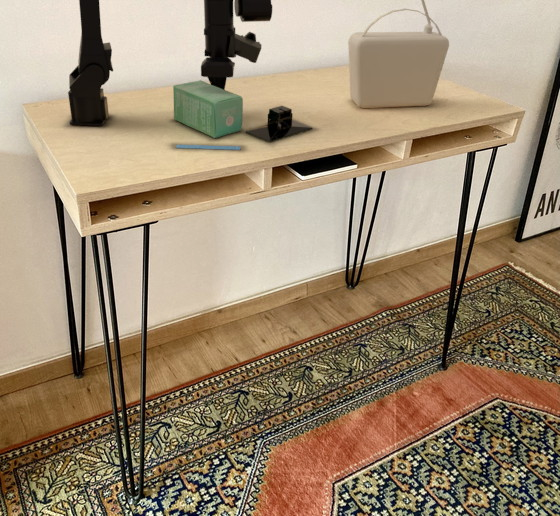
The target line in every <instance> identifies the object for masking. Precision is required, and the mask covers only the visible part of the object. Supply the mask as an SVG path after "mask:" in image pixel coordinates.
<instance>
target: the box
mask: <svg viewBox="0 0 560 516" xmlns="http://www.w3.org/2000/svg"><path fill="white" fill-rule="evenodd" d="M172 88H173V119H174V120H175V121H177V122H179V123H180V124H183V125H185V126H187V127H189V128H192V129H193V130H196V131H198V132H200V133H203V134H205V135H207V136H209V137H210V138H213V139H217V138H221V137H224V136H227V135H230V134H234V133H237V132H240V131H241V130H242V128H243V115H244V113H243V112H244V110H243V109H244V102H243V101H244V98H243V97H242V96H241V95H240V94H236V93H234V92H231V91H228V90H226V89H225V90H224V89H221V88H218V87H216V86H213V85H211V84H210V83H208V82H206V81H204V80H201V79H200V80H196V81H195V80H194V81H190V82H185V83H179V84H178V83H177V84H174V85H173V87H172Z"/></svg>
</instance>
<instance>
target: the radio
mask: <svg viewBox="0 0 560 516" xmlns="http://www.w3.org/2000/svg"><path fill="white" fill-rule="evenodd" d="M420 2H421V4H422V8H423V11H424V13H423V12H421V11H419V10H416V9H412V8H411V9H410V8H398V9H393V10H390V11H388V12H386V13H383V14H382V15H379V16H378V17H377V18H376V19H374V20H373V21H372V22H371V23H370V24H369V25H367V27H366V28H365V29H364V30H363V32H360V31H358V32H353V33H352V34H351V35H350V36H349V38H348V41H347V46H348V69H349V96H350V100H351V101H353V103H354V104H355V105H357V106H358V107H359V108H361V109H375V108H377V109H378V108H379V109H380V108H396V107H397V108H398V107H399V108H400V107H403V108H404V107H426V106H430V105H431V104H432V102H433V100H434V96H435V93H436V90H437V87H438V84H439V81H440V77H441V74H442V70H443V67H444V64H445V61H446V58H447V54H448V51H449V49H450V41H449V38H447V36H444V35H443V34H442V32H441V29H440V28H439V26H438V24H437V23H436V22H435V21H434V20H433V19H432V18H431V17H430V15H429V12H428V9H427V5H426V1H425V0H420ZM401 11H411V12H417V13H419V14H422V15H424V16H425V18H426V21H427V24H426V25H424V27H423V31H369V30H370V28H371V27H372V26H373V25H374V24H376V23H377V22H378V21H379V20H381V19H382V18H384V17H386V16H388V15H390V14H392V13H396V12H401ZM431 23H432V24H433V25H434V26H435V28H436V30H437V32H436V31H433V29H434V28H433V26H432V24H431Z"/></svg>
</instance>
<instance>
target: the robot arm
mask: <svg viewBox="0 0 560 516" xmlns="http://www.w3.org/2000/svg"><path fill="white" fill-rule="evenodd" d="M78 1H79V2H78V5H79V15H80V17H79V18H80V28H81V29H80V30H81V35H80V41H79V42H80V43H79V51H78V60H77V61H78V62H77V64H78V65H77V66H76V67H75V68H74V69H73V70H72V71H71V72H70V74H69V75H68V86H69V88H68V89H69V90H68V92H67V94H68V96H67V97H68V101H69V102H68V103H69V107H70V108H69V110H70V116H71V120H70V121H69V122H68V123H69V125H70V126H92V127H96V126H97V127H102V126H104V124H105V122H106V121H107V120H108V118H109V115H110V114H109V104H108V97H107V96H105V91H104V88H102V87H103V86H104V85H105V84H106V83H107V82H108V81H109V79H110V75H111V72H114V67H113V62H112V54H113V49H112V45H111V42H104V41H103V36H102V25H101V7H100V0H78ZM203 14H204V15H203V16H204V28H203V36H204V46H205V47H204V57H205V59H203V60H202V62H201V65H200V76H201V77H202V78H207V79H208V82H209V84H211V85H213V86H216V87H218V88H221V89H224V90H226V85H227V78H234V73H235V65H236V62H234V61H233V60H232V59H233V58H236V57H237V56H238V57H240V58H243V59H246V60H247V61H249V62H250V63H252V64H256V63H257V62H258V58H259V56H260V53H261V50H262V44H261V42H260V41H257V35H256V33H254V32H251V31H248V32H247V33H246V34H245V35H243V34H238V33H236V27H235V25H234V15H235V16H236V17H237V18H239V19H240V21H241V23H246V22H247V23H248V22H249V23H251V22H252V23H253V22H256V23H257V22H270V21H271V20H272V16H273V4H272V0H203ZM231 58H232V59H231Z"/></svg>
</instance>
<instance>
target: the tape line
mask: <svg viewBox="0 0 560 516" xmlns="http://www.w3.org/2000/svg"><path fill="white" fill-rule="evenodd" d="M175 148H176V149H190V150H191V149H195V150H224V151H225V150H227V151H241V146H239V145H237V146H234V145H233V146H232V145H203V144H176V147H175Z"/></svg>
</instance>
